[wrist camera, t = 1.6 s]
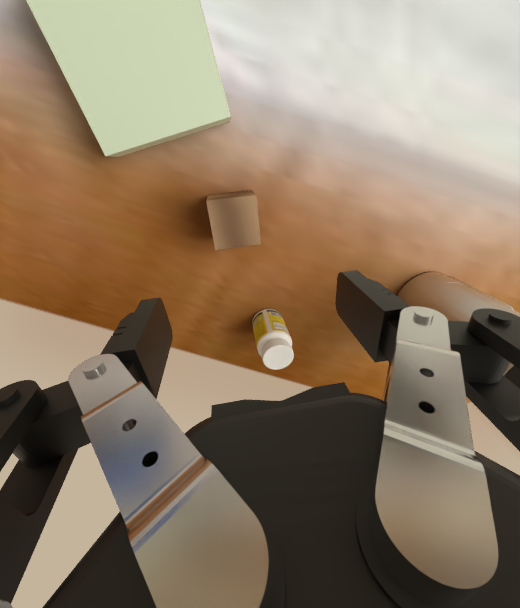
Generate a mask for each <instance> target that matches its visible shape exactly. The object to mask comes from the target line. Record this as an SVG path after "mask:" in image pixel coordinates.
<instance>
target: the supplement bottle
mask: <svg viewBox="0 0 520 608" xmlns="http://www.w3.org/2000/svg"><path fill="white" fill-rule="evenodd" d="M252 327H253V332H254V337H255V341H256V346H257V350H258V353H259V354H260V356H261V357H262V360H263V363H264V364H265V366H266V367H268V368H270V369H274V370H278V369H282V368H285V367H287V366H288V365H289V364H290V363H291V362H292V360H293V357H294V353H293V350H292V340H291V337H290V335H289V332H288V330H287V327H286V325H285V323H284V320H283V318H282V316H281V314H280V313H279V312H278V311H276V310H274V309H264V310H261V311H260V312H258V313H257V314H256V315H255V316H254V318H253V320H252Z"/></svg>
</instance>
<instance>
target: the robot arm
mask: <svg viewBox="0 0 520 608" xmlns="http://www.w3.org/2000/svg"><path fill="white" fill-rule="evenodd" d="M336 309H337V313H338V315H339V316H340V318H341V319H342V320H343V321H344V323H345V324H346V325H347V327H348V328H349V329H350V331H351V332H352V333H353V334H354V336H355V337H356V338H357V340H358V341H359V342H360V344H361V345H362V346H363V347H364V349H365V350H366V351H367V353H368V354H369V355H370V356H371V358H372V359H373V360H374V362H380V361H386V360H388V362H389V366H388V371H387V377H386V382H385V388H384V394H383V399H382V400H380V399H378V398H375V397H372V396H368V395H364V394H359V393H350V392H349V390H348V388H347V387H346V385H345V383H344V382H343V383H337V384H332V385H326V386H320V387H315V388H311V389H309V390H306V391H304V392H302V393H299V394H297V395H295V396H292V397H290V398H288V399H285V400H283V401H265V400H240V401H234V402H229V403H223V404H217V405H212V414H211V417H210V418H208V419H205V420H204V421H202V422H200V423H198V424H197V425H196V426H194V427H192V428H191V429H190V430H189V431H187V432H186V433H185V434H184V433H183V432H182V431H181V430H180V428H179V427H178V426H177V424H176V423H175V422H174V421H173V420H172V418H171V417H170V416H169V415H168V413H167V412H166V411H165V410H164V409H163V407H162V406H161V405H160V404H159V402H158V401H157V400H156V398H157V395H158V391H159V387H160V384H161V380H162V376H163V373H164V369H165V365H166V361H167V358H168V353H169V350H170V346H171V343H172V329H171V325H170V322H169V319H168V316H167V313H166V310H165V307H164V304H163V301H162V299H161V298H153V299H146V300H141V302H140V303H139V305H138V307H137V309H136V310H135V312H133V313H130V314H129V315H127V316H126V317H125V318H124V319H122V320H121V322H120V323H119V325H118V327H117V329H116V330H115V332H114V333H113V336H111V338H110V340H109V341H108V343H107V344H106V346H105V348H104V349H103V351H102V353H101V354H100V355H98V356H95V357H92V358H90V359H88V360H86V361H84V362H82V363H81V364H79V365H78V366H77V367H76V368H75V369H74V370H73V371H72V372H71V374H70V375H69V379H68V381H66V382H63V383H60V384H58V385H55V386H52V387H49V388H47V389H44V390H41V388H40V387H39V386H38V384H37V383H36V382H35V381H32V380H24V381H19V382H16V383H13V384H10V385H8V386H6V387H4V388H1V389H0V471H1V470H2V468H3V467H4V465H5V464H6V462H7V461H8V459H9V457H10V456H11V454H12V453H13V454H14V455H15V456H16V457H17V458H18V459H19V461H18V462H17V464H16V466H15V467H14V469H13V471H12V472H11V474H10V476H9V477H8V479H7V480H6V482H5V483H4V485H3V487H2V488H1V490H0V608H12V606H11V602H12V600H13V597H14V595H15V593H16V591H17V588H18V586H19V584H20V581H21V579H22V577H23V575H24V572H25V570H26V567H27V565H28V563H29V561H30V558H31V556H32V554H33V551H34V549H35V547H36V544H37V542H38V540H39V538H40V535H41V533H42V531H43V528H44V526H45V524H46V521H47V519H48V517H49V514H50V512H51V510H52V508H53V505H54V503H55V501H56V498H57V496H58V494H59V492H60V489H61V487H62V485H63V482H64V480H65V478H66V475H67V473H68V471H69V468H70V466H71V464H72V462H73V459H74V457H75V455H76V452H77V450H78V448H80V447H82V446H84V445H87V444H89V443H91V444H92V446H93V448H94V451H95V453H96V455H97V458H98V460H99V462H100V465H101V467H102V469H103V472H104V474H105V477H106V479H107V481H108V484H109V486H110V488H111V490H112V493H113V495H114V498H115V500H116V502H117V505H118V507H119V509H120V512H119V513H118V515H117V516H116V517H115V518H114V520H113V521H112V522H111V523H110V525H109V526H108V527H107V528H106V530H105V531H104V532H103V533H102V535H101V536H100V537H99V538H98V539H97V541H96V542H95V543H94V544H93V546H92V547H91V548H90V550H89V551H88V552H87V553H86V554H85V556H84V557H83V558H82V559H81V561H80V562H79V563H78V564H77V566H76V567H75V568H74V569H73V570H72V572H71V573H70V574H69V576H68V577H67V578H66V579H65V580H64V582H63V583H62V584H61V585H60V587H59V588H58V589H57V590H56V592H55V593H54V594H53V595H52V597H51V598H50V599H49V600H48V601H47V603H46V604H45V605H44V606H43V608H520V476H519V475H517V474H516V473H514V472H512V471H510V470H508V469H507V468H505V467H503V466H501V465H499V464H497V463H495V462H494V461H492V460H490V459H488V458H486V457H485V456H483V455H481V454H479V453H478V452H476V451H474V448H473V440H472V434H471V427H470V420H469V413H468V407H467V399H466V396H467V397H468V398H469V399H470V400H471V401H472V402H473V403H474V405H475V406H477V408H478V409H479V410H480V411H481V412H482V413H483V414H484V415H485V416H486V417H487V418H488V419H489V420H490V421H491V422H492V423H493V424H494V425H495V426H496V427H497V428H498V429H499V430H500V431H501V432H502V433H503V434H504V436H505V437H506V438H507V439H508V440H509V441H510V442H512V444H513V445H514V446H515V447H516V448H517V449H518V450H519V451H520V313H518V312H516V311H514V310H513V307H512V306H510V305H508V304H506V303H504V302H502V301H500V300H498V299H496V298H494V297H492V296H490V295H488V294H486V293H484V292H482V291H480V290H478V289H476V288H474V287H472V286H470V285H468V284H466V283H464V282H462V281H460V280H458V279H456V278H454V277H451V278H449V277H447V276H445V275H443V274H441V273H438V272H427V273H423V274H420V275H418V276H416V277H414V278H413V279H411V280H410V281H409V282H407V283H406V284H405V285H404V286H403V288H402V289H401V290H400V291H399V293H398V295H397V296H396V295H395V294H393V293H392V292H391V291H389V290H387V288H385V287H384V286H383V285H382V284H380V283H378V282H376V281H373V280H371V279H367V278H366V277H365V276H363V275H362V274H361V273H360V272H358V271H357V270H354V271H347V272H340V273H339V274H338V278H337V292H336Z"/></svg>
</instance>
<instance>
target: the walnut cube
mask: <svg viewBox="0 0 520 608" xmlns="http://www.w3.org/2000/svg"><path fill="white" fill-rule="evenodd" d="M206 202H207V208H208V213H209V219H210V224H211V230H212V235H213V241H214V246H215V250H220V249H227V248H235V247H243V246H251V245H259V244H261V240H260V229H259V218H258V206H257V195H256V194H255V193H254V192H253V191H252V190H249V191H240V192H231V193H222V194H213V195H208V197H207V200H206Z"/></svg>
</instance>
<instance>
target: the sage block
mask: <svg viewBox="0 0 520 608" xmlns="http://www.w3.org/2000/svg"><path fill="white" fill-rule="evenodd" d="M26 1H27V3H28V5H29V7H30V9H31V11H32V13H33V15H34V17H35V19H36V21H37V23H38V25H39V27H40V29H41V31H42V33H43V35H44V37H45V38H46V40H47V42H48V44H49V46H50V48H51V50H52V52H53V54H54V56H55V58H56V60H57V62H58V64H59V66H60V68H61V70H62V72H63V74H64V76H65V78H66V80H67V82H68V84H69V86H70V88H71V90H72V92H73V94H74V95H75V97H76V99H77V101H78V103H79V105H80V107H81V109H82V111H83V113H84V115H85V117H86V119H87V121H88V123H89V125H90V127H91V129H92V131H93V133H94V135H95V137H96V139H97V141H98V143H99V145H100V147H101V149H102V150H103V152H104V154H105V156H110V157H120V156H123V155H126V154H130V153H133V152H136V151H139V150H142V149H145V148H148V147H152V146H155V145H158V144H161V143H164V142H167V141H171V140H174V139H177V138H180V137H183V136H186V135H189V134H193V133H196V132H199V131H202V130H205V129H208V128H211V127H215V126H218V125H221V124H224V123H227V122H230V118H231V115H230V112H229V108H228V104H227V100H226V96H225V93H224V89H223V85H222V81H221V78H220V74H219V70H218V66H217V62H216V59H215V55H214V51H213V47H212V44H211V40H210V36H209V32H208V29H207V25H206V21H205V17H204V13H203V10H202V6H201V2H200V0H26Z"/></svg>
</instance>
